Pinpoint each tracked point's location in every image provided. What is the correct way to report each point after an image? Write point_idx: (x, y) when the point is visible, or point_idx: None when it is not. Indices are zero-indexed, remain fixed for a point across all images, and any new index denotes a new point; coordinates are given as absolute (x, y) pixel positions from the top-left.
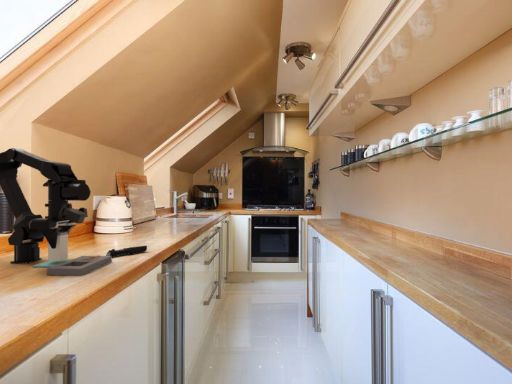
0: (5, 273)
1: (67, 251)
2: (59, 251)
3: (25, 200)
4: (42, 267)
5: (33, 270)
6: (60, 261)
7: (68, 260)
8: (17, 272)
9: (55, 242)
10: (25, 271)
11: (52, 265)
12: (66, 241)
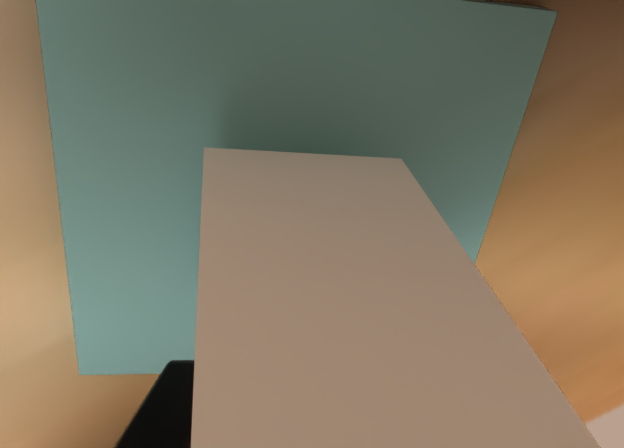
0: (612, 405)
1: (213, 207)
2: (452, 250)
3: None
4: None
5: (574, 275)
6: None
7: (149, 145)
8: (610, 351)
9: None
10: (593, 315)
11: (469, 186)
12: (270, 366)
